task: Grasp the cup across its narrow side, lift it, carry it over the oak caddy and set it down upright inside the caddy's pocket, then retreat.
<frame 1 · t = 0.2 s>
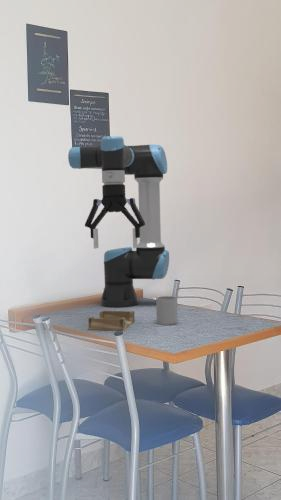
hand: (115, 248, 215), 27 cm above the table, fingers open, 13 cm apart
cup: (165, 323, 227), on the table
caddy: (112, 325, 224), on the table
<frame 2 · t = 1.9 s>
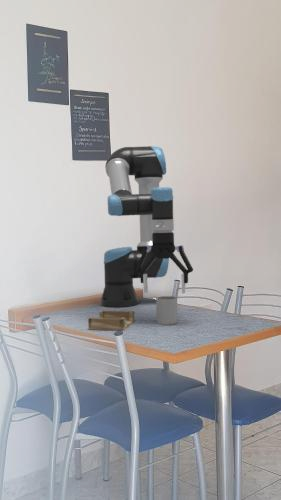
hand: (164, 292, 226), 11 cm above the table, fingers open, 13 cm apart
nothing on the table moved.
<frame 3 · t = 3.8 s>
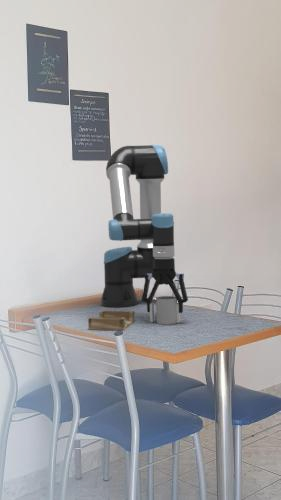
hand: (165, 321, 227), 0 cm above the table, fingers open, 9 cm apart
cup: (164, 322, 227), on the table, touching gripper
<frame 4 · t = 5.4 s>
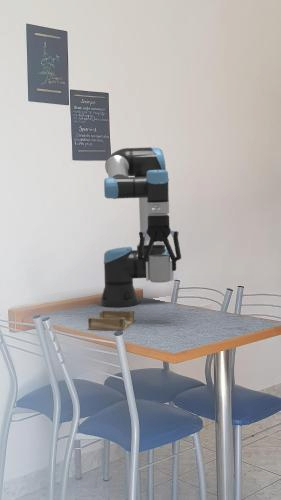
hand: (159, 280, 226), 15 cm above the table, fingers closed on cup, 8 cm apart
cup: (158, 281, 226), point 15 cm above the table, touching gripper
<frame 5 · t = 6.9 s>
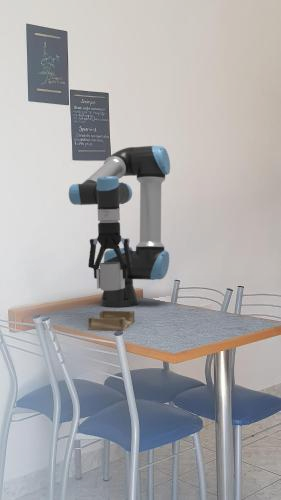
hand: (110, 288, 223), 13 cm above the table, fingers closed on cup, 8 cm apart
cup: (109, 289, 223), point 13 cm above the table, touching gripper
when the fingers open (2 cm above the table, at t = 9.6 s): cup stays where it is, resting on caddy.
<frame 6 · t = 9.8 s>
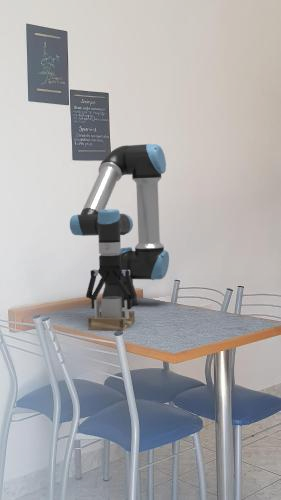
hand: (111, 318, 224), 3 cm above the table, fingers open, 10 cm apart
cup: (110, 323, 224), point 1 cm above the table, touching caddy
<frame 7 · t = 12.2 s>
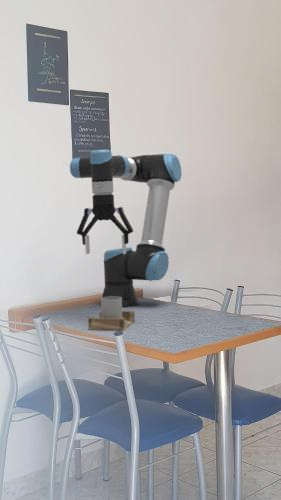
hand: (106, 253, 231), 24 cm above the table, fingers open, 13 cm apart
nothing on the table moved.
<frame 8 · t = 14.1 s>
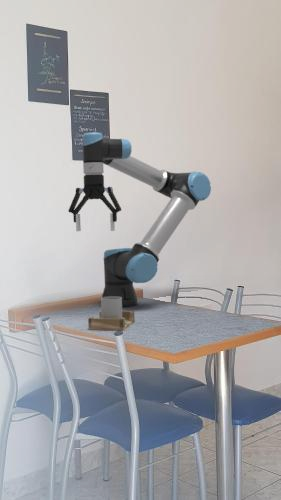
hand: (95, 231, 245), 32 cm above the table, fingers open, 13 cm apart
nothing on the table moved.
at the end: cup 0.8 cm off-centre on the caddy, point 0.7 cm above the caddy's base; cup tilted 0°; the gripper is holding nothing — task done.
